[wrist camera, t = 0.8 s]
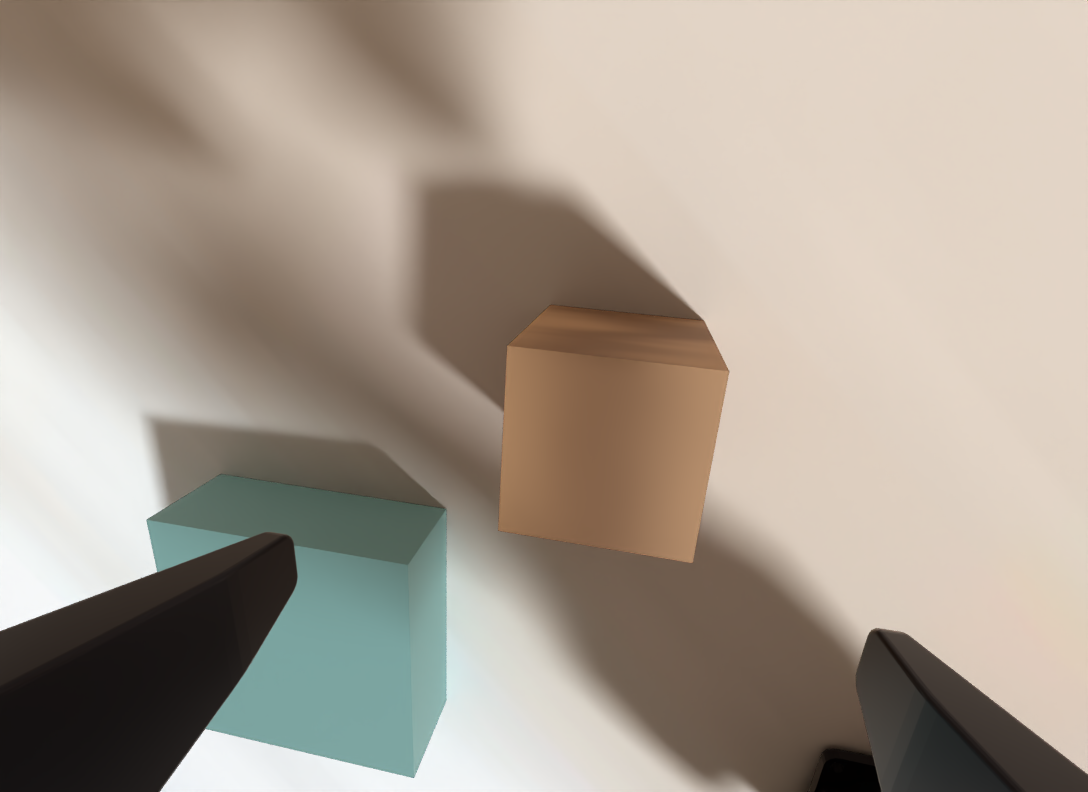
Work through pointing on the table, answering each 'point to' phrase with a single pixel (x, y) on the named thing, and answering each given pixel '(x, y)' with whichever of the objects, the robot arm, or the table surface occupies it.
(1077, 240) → the table surface
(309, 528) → the teal base block
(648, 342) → the walnut block
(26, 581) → the table surface
